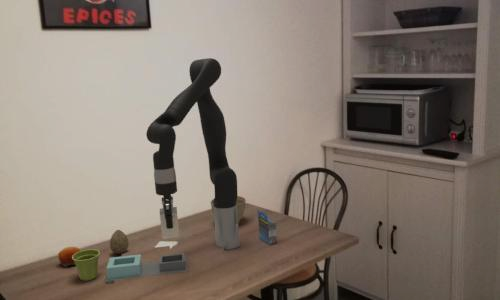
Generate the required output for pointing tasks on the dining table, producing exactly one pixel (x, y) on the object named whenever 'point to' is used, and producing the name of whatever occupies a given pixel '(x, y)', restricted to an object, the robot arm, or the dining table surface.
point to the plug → (166, 232)
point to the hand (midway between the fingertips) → (169, 225)
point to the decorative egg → (119, 242)
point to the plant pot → (87, 263)
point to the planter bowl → (240, 207)
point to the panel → (144, 266)
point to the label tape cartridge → (266, 229)
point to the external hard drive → (166, 244)
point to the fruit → (68, 255)
